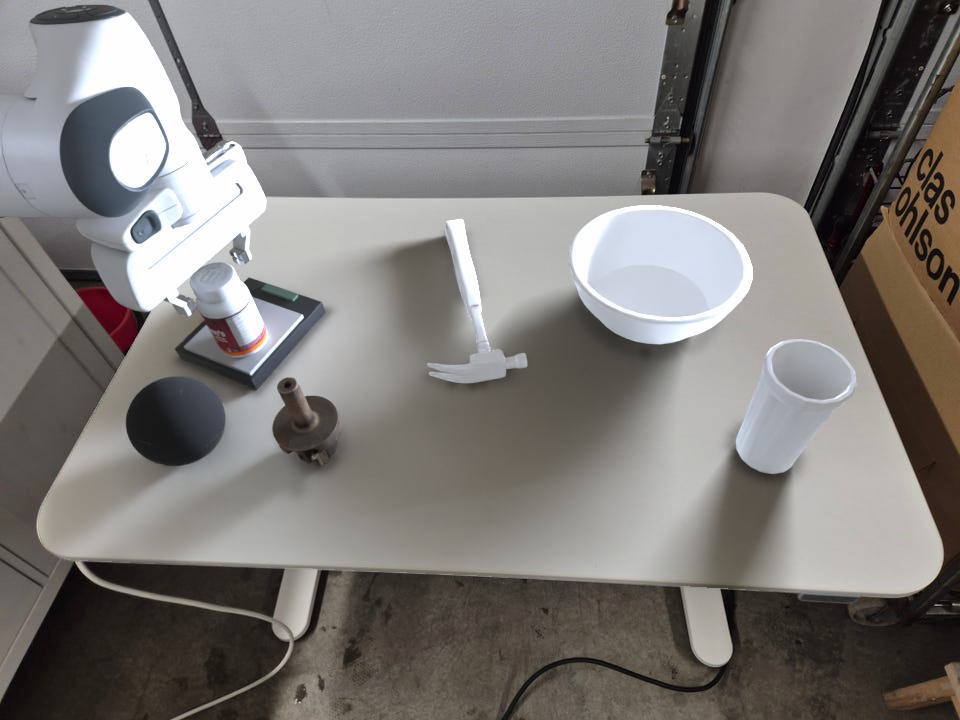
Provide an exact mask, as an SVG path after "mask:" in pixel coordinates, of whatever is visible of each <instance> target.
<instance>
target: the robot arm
mask: <svg viewBox="0 0 960 720" xmlns="http://www.w3.org/2000/svg"><path fill="white" fill-rule="evenodd" d="M28 28H29V32H30V35H31V39H32V40H33V43H34V45H35V48H36V63H35V68H34V73H33V76H32V78H31V81H30V83H29V86H28V88H27V89H26V90H25V91H24V92H0V219H4V218H22V219H23V218H24V219H25V218H27V219H75V221H74V222H75V223H74V225H75V228H76V229H77V231H78V232H79V233H80V234H81V236H83V237H84V238H86V239H88V240H90V241H91V242H92V243H91V247H90V256H91V261H92V263H93V265H94V268H95V269H96V271H97V273H98V275H99V277H100V280H101V281H102V282H103V284H104V287H106V290H107V291H108V292H109V293H110V296H111V297H112V298H113V300H114V301H115V302H117V303H118V304H119V305H121V306H123V307H124V308H127V309H130V310H132V311H135V312H141V313H149V312H151V311H152V310H154V309H155V308H156V307H157V306H158V305H159V304H160V303H162V302H163V301H164V302H166V303H169V304H171V305H172V306H173V308H174V310H175V311H176V312H177V314H179V315H180V316H183V317H186V318H189V317H190V316H191V315H193V313H195V312H196V310H198V308H197V306H196V301H194V298H192V297H190V296H186V295H183V294H180V293H179V291H178V289H177V288H179V287H180V286H181V285H182V284H183V283H185V282H186V281H187V280H188V279H190V278H191V276H192V275H193V274H194V273H195V272H196V271H197V270H198V269H199V268H201V267H203V266H205V265H206V263H207V262H209V260H211V259H212V258H213V257H215V255H216V254H218V253H219V252H220V251H221V250H222V249H223V248H224V247H226V246H227V245H228V244H229V243H230V242H231V241H232V248H231V249H230V250H229V251H228V253H229V255H230V256H231V258H232V261H233V262H234V263H235V264H236V265H241V266H243V267H244V266H245V265H246V264H247V263H249V262H250V261H251V260H252V259H253V255H252V253H251V250H250V240H251V229H250V227H249V226H250V225H251V224H252V223H253V222H254V221H255V220H256V219H258V218H259V217H260V216H261V215H262V214H263V213H264V212H265V211H266V207H267V197H266V194H265V193H264V191H263V189H262V186H261V184H260V183H259V180H258V179H257V177H256V175H255V173H254V171H253V170H252V168H251V167H250V165H248V163H247V162H248V161H247V158H246V155H245V153H244V150H243V147H242V146H241V145H240V144H239V143H237V142H236V141H234V140H226V139H222V140H220V141H218V142H217V143H216V144H214V146H213V147H212V148H210V149H208V150H206V151H204V152H203V153H202V151H201V149H200V146H199V144H198V142H197V140H196V138H195V136H194V135H193V133H192V132H191V131H190V130H189V129H188V127H187V125H186V124H185V123H184V120H183V117H182V115H181V109H180V103H179V99H178V95H177V94H176V92H175V90H174V88H173V87H174V86H172V83H171V81H170V79H169V77H168V74H167V72H166V70H165V68H164V67H163V65H162V62H161V60H160V58H159V56H158V54H157V53H156V51H155V49H154V47H153V46H152V45H151V42H150V40H149V38H148V37H147V36H146V34H145V32H144V31H143V29H142V28H141V26H140V25H139V24H138V22H137V21H136V20H135V18H133V16H132V15H131V14H130V13H129V12H127V11H126V10H124V9H121V8H119V7H116V6H115V5H110V4H76V5H72V6H60V7H56V8H51V9H47V10H44V11H41V12H40V13H37V14H35V15H34V16H33V17H32V18H31V19H30V20H29V21H28Z"/></svg>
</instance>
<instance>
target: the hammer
mask: <svg viewBox="0 0 960 720" xmlns="http://www.w3.org/2000/svg"><path fill="white" fill-rule="evenodd" d="M443 225H444V226H443V227H444V234H445V239H446V241H447V243H448V244H447V245H448V246H449V251H450V253H451V258H452V262H453V265H454V272H455V277H456V282H457V285H458V289H459V292H460V296H461V299H462V302H463V305H464V308H465V310H466V311H465V312H466V314H467V315H468V316H469V317H470V320H471V324H472V325H471V326H472V328H473V333H474V338H475V343H476V349H477V352H476V353H472V354H470V355H469V362H468V363H462V364H442V363H434V362H433V363H432V362H427V367H428V368H430V369H434V370H438V372H437V371H429V372H428V375H429V376H430V377H434V378H437V379H440V380H444V381H447V382H451V383H458V384H475V383H480V382H481V383H482V382H486V381H492V380H498V379H503V378H505V377H506V375H507V370H510V369H518V370H519V369H524V368H527V367H528V358H527V355H526V353H525V352H521V353H516V354H515V355H512V356H507V357H506V356H505V354H504V351H503V350H501V349H493V350H491V347H490V342H489V339H488V337H487V333H486V330H485V329H486V328H485V326H484V321H483V318H482V302H481V296H480V290H479V289H480V288H479V284H478V280H477V279H478V278H477V275H476V271H475V266H474V264H473V261H472V260H473V259H472V257H471V253H470V249H469V244H468V238H467V234H466V228H465V222H464V220H463V218H458V219H450V220H446V221H444V223H443ZM439 371H440V372H439Z"/></svg>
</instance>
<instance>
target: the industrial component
mask: <svg viewBox="0 0 960 720" xmlns="http://www.w3.org/2000/svg"><path fill="white" fill-rule="evenodd" d="M276 385H277V386H276V389H277V392H278V394H279V395H280V398H281V400H282V402H283V403H284V406H282V407H281V408H280V410H278V412H277V414H276V415H275V416H274V419H273V422H272V429H271V430H272V436H273V438H274V440H275V443H276V444H277V445H278V447H279V448H280V449H281V451H283V452H284V454H286V455H290V454H292V453H294V452H295V453H296V454H297V456H298V458H299V460H301V461H303V462H305V463H307V464H312V463H313V462H314V461H318V463H319V465H320V466H325V465H327V464H328V463H329V462H330V458H331V457H332V456H333V455H334V454H335V452H336V450H337V448H338V437H339V435H340V432H341V429H342V420H341V416H340V414H339V411H338V409H337V407H336V406H335V403H333V402H332V401H331V400H329V399H328V398H326V397H324V396H321V395H305V394H304V392H303V390H302V388H301V385H300V383H299V381H298V379H296V378H295V377H292V376H291V377H289V376H287V377H284V378H282V379H281V380H280V381H279V382H278V383H277V384H276Z"/></svg>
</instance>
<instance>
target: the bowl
mask: <svg viewBox="0 0 960 720" xmlns="http://www.w3.org/2000/svg"><path fill="white" fill-rule="evenodd" d="M749 255H750V254H748V251H747V250H746V248H745V247H744V244H743V243H742V242H741V241H740V240H739V239H738V238H737V237H736V236H735V235H734V234H733V233H732V232H731V231H729V230H728V229H727V228H725V227H723V225H721V224H719V223H717V222H715V221H714V220H712V219H710V218H708V217H706V216H703V215H701V214H698V213H696V212H693V211H689V210H685V209H683V208H677V207H671V206H663V205H634V206H627V207H626V206H625V207H621V208H619V209H614V210H611V211H608V212H606V213H603V214H601V215H598V216H597V217H595V218H594V219H592V220H591V221H589V222H587V223H586V224H584V226H583V227H582V228H581V229H580V230H579V231H578V232H577V233H576V234H575V236H574V238H573V240H572V241H571V244H570V246H569V250H568V267H569V270H570V273H571V277H572V280H573V282H574V285H575V287H576V290H577V293H578V296H579V298H580V299H581V301H582V303H583V304H584V306H585V307H586V309H587V310H588V311H589V312H590V313H591V314H592V315H593V316H594V317H595V318H597V319H598V320H599V321H600V322H601V323H602V325H604V326H605V327H606V328H607V329H608V330H610V331H611V332H612V333H614V334H616V335H618V336H620V337H622V338H624V339H627V340H630V341H633V342H636V343H641V344H647V345H664V344H673V343H676V342H680V341H683V340H685V339H687V338H690V337H693V336H697V335H701V334H702V333H704V332H707V331H708V330H710V329H712V328H714V326H716V325H717V324H719V323H720V322H721V321H722V320H723V319H724V318H725V317H727V315H729V313H730V312H732V311H733V310H734V309H735V308H736V307H738V305H740V303H741V302H742V300H743V299H744V298H745V297H746V295H747V294H748V293H749V290H750V287H751V284H752V281H753V265H752V263H751V258H750V257H749Z"/></svg>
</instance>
